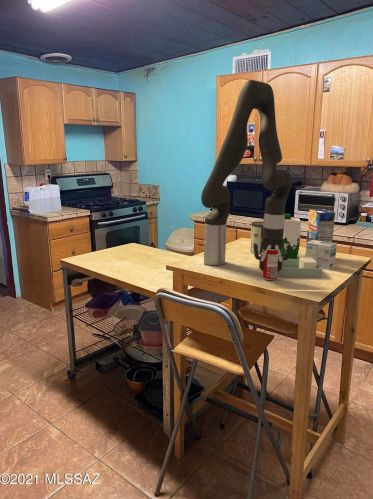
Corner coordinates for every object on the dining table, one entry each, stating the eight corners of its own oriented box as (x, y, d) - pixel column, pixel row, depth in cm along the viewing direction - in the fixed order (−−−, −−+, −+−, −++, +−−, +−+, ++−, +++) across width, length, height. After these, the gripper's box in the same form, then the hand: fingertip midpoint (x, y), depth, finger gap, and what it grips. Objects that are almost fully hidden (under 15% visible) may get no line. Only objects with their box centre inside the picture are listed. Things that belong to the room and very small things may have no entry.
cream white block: (302, 274, 151) (303, 262, 150) (298, 269, 158) (299, 257, 156) (315, 274, 151) (317, 262, 150) (310, 269, 158) (311, 257, 156)
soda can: (267, 274, 149) (270, 244, 146) (279, 278, 145) (282, 247, 142) (259, 277, 145) (261, 246, 142) (271, 281, 141) (273, 249, 138)
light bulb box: (335, 268, 162) (337, 243, 159) (328, 271, 157) (331, 245, 154) (310, 263, 169) (313, 239, 166) (303, 266, 164) (306, 241, 161)
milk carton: (277, 254, 182) (280, 212, 177) (297, 255, 180) (301, 213, 175) (278, 259, 173) (281, 215, 168) (299, 261, 172) (302, 216, 167)
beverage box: (315, 262, 170) (320, 212, 164) (305, 255, 180) (309, 209, 175) (330, 262, 171) (335, 212, 165) (319, 255, 181) (323, 208, 176)
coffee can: (272, 250, 190) (274, 222, 186) (270, 255, 180) (272, 225, 177) (251, 248, 193) (252, 220, 190) (248, 253, 184) (249, 224, 180)
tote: (276, 277, 148) (277, 268, 148) (270, 268, 161) (271, 258, 160) (321, 278, 148) (322, 268, 147) (311, 268, 161) (312, 259, 160)
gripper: (255, 227, 137) (252, 273, 141) (296, 228, 136) (291, 274, 141) (252, 223, 144) (249, 266, 148) (291, 224, 143) (287, 268, 148)
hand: (270, 270), depth 144 cm, fingers closed on soda can, 5 cm apart
